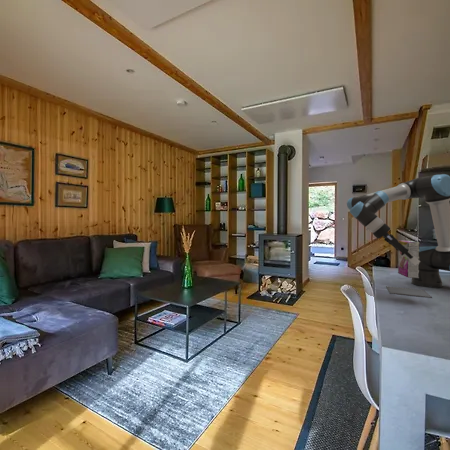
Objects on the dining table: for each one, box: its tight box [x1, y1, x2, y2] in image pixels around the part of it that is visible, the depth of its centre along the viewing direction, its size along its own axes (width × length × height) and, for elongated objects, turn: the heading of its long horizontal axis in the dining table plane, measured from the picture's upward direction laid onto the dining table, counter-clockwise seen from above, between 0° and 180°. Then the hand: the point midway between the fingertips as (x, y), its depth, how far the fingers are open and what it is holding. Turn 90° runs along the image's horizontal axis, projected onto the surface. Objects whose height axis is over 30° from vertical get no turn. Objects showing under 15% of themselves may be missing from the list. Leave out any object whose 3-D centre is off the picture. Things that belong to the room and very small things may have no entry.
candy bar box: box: [397, 239, 420, 279], centre depth 132 cm, size 11×5×16 cm, turn 168°
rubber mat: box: [385, 286, 433, 299], centre depth 148 cm, size 18×16×1 cm
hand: (414, 261), depth 130 cm, fingers closed on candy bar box, 12 cm apart
